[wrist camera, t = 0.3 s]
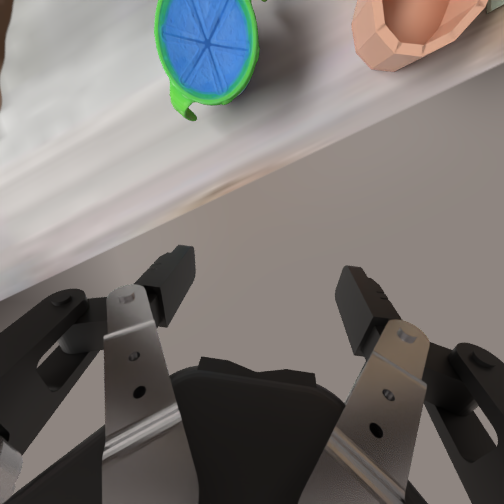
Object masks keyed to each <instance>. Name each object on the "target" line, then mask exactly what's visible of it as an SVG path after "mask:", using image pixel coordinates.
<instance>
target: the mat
mask: <svg viewBox="0 0 504 504" xmlns="http://www.w3.org/2000/svg"><path fill="white" fill-rule="evenodd" d="M502 5H504V0H488V2H487V13H489V12H491V11H492V10H494V9H496V8H498V7H500V6H502Z"/></svg>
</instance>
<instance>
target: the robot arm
mask: <svg viewBox="0 0 504 504" xmlns="http://www.w3.org/2000/svg"><path fill="white" fill-rule="evenodd" d="M194 278H195V254H194V248H193V247H192V246H185V245H178V246H177V247H176V248H175V249H174V250H173V252H172V253H166V254H164V255H162V256H160V257H159V258H158V259H157V260H156V261H155V262H154V264H152V265H151V266H150V268H149V269H148V270H147V271H146V272H145V273H144V274H143V275H142V276H141V277H140V278H139V279H138V280H137V281H136V282H135V283H134V284H131V285H125V286H122V287H119V288H117V289H115V290H114V291H112V292H111V293H110V294H109V295H108V297H101V298H91V299H87V297H86V295H85V293H84V291H82V290H80V289H67V290H62V291H59V292H56V293H54V294H52V295H50V296H48V297H47V298H45V299H44V300H42V301H41V302H40V303H39V304H37V305H36V306H35V307H33V308H32V309H31V310H30V311H28V312H27V313H26V314H24V315H23V316H22V317H20V318H19V319H18V320H17V321H15V322H14V323H13V324H11V325H10V326H9V327H7V328H6V329H5V330H4V331H2V332H1V333H0V504H428V503H427V502H426V501H425V500H424V498H423V497H422V496H421V495H420V494H419V492H418V491H417V490H416V489H415V487H414V486H413V485H412V484H411V483H410V481H409V480H408V476H409V471H410V466H411V461H412V456H413V452H414V447H415V442H416V437H417V432H418V428H419V423H420V418H421V412H422V408H423V403H424V405H425V407H426V409H427V411H428V413H429V415H430V417H431V419H432V421H433V423H434V426H435V428H436V430H437V432H438V434H439V436H440V438H441V440H442V442H443V444H444V446H445V448H446V450H447V453H448V455H449V457H450V459H451V461H452V463H453V465H454V467H455V469H456V471H457V473H458V475H459V478H460V480H461V482H462V484H463V486H464V488H465V490H466V492H467V494H468V496H469V498H470V500H471V503H472V504H504V363H503V362H502V361H501V360H499V359H498V358H497V357H496V356H494V355H493V354H491V353H490V352H488V351H487V350H485V349H482V348H481V347H478V346H476V345H473V344H470V343H459V344H457V346H456V347H455V348H454V349H453V350H450V349H448V348H445V347H442V346H439V345H436V344H434V343H431V342H429V340H428V338H427V336H426V335H425V334H424V333H423V332H422V331H421V330H420V329H419V328H417V327H416V326H414V325H413V324H411V323H408V322H406V321H403V320H402V319H401V317H400V316H399V314H398V313H397V311H396V310H395V308H394V307H393V305H392V304H391V302H390V301H389V300H388V298H387V296H386V295H385V294H384V292H383V290H382V289H381V287H380V285H379V284H377V283H376V282H375V281H374V280H373V279H371V278H368V277H367V276H366V274H365V272H364V271H363V269H362V268H361V267H355V266H345V267H344V268H343V270H342V273H341V276H340V279H339V282H338V285H337V287H336V291H335V300H336V303H337V306H338V309H339V312H340V315H341V318H342V321H343V324H344V327H345V330H346V333H347V336H348V339H349V342H350V345H351V348H352V350H353V353H354V355H356V356H363V357H365V359H366V362H365V364H364V366H363V368H362V370H361V372H360V374H359V376H358V377H357V379H356V381H355V384H354V385H353V387H352V389H351V391H350V393H349V395H348V397H347V399H346V401H345V402H344V403H343V402H342V401H341V400H340V399H339V398H338V397H337V396H336V395H334V394H333V393H332V392H330V391H329V390H327V389H326V388H324V387H322V386H320V385H318V384H316V379H315V374H314V373H308V372H301V371H294V370H288V369H284V370H275V371H265V372H254V371H252V370H250V369H247V368H245V367H243V366H240V365H238V364H235V363H233V362H231V361H228V360H221V359H215V358H208V357H201V359H200V362H199V365H198V366H193V367H188V368H185V369H182V370H180V371H177V372H176V373H173V374H172V375H170V376H169V373H168V369H167V365H166V362H165V358H164V354H163V350H162V347H161V343H160V340H159V336H158V332H157V328H158V326H160V327H168V325H169V323H170V322H171V320H172V318H173V316H174V315H175V313H176V311H177V309H178V308H179V306H180V304H181V302H182V301H183V299H184V297H185V295H186V293H187V292H188V290H189V288H190V286H191V285H192V283H193V281H194ZM56 341H57V342H58V343H59V346H58V347H57V348H56V349H55V350H54V351H53V352H52V353H51V354H50V355H49V356H48V358H47V359H46V360H45V361H44V362H43V363H42V364H41V365H40V366H39V367H38V368H37V364H38V362H39V360H40V359H41V357H42V356H43V355H44V354H45V353H46V352H47V351H48V350H49V349H50V348H51V346H52V345H54V343H55V342H56ZM100 350H104V388H105V389H104V390H105V425H104V426H102V427H101V428H100V429H98V430H97V431H96V432H94V433H93V434H92V435H90V436H89V437H88V438H87V439H85V440H84V441H83V442H81V443H80V444H79V445H77V446H76V447H75V448H74V449H72V450H71V451H70V452H68V453H67V454H66V455H64V456H63V457H62V458H60V459H59V460H58V461H57V462H55V463H54V464H53V465H51V466H50V467H49V468H47V469H46V470H45V471H43V472H42V473H41V474H39V475H38V476H37V477H36V478H34V479H33V480H32V481H30V482H29V483H28V484H26V485H25V486H24V487H22V488H21V489H20V490H18V491H17V492H16V493H15V494H13V492H14V490H15V482H16V480H17V478H18V476H19V474H20V471H21V468H22V463H23V460H22V455H23V454H24V452H25V451H26V450H27V448H28V447H29V445H30V444H31V443H32V441H33V440H34V439H35V437H36V436H37V435H38V433H39V432H40V431H41V429H42V428H43V427H44V425H45V424H46V422H47V421H48V420H49V418H50V417H51V416H52V414H53V413H54V412H55V410H56V409H57V408H58V406H59V405H60V404H61V402H62V401H63V400H64V398H65V397H66V396H67V394H68V393H69V392H70V390H71V388H72V387H73V386H74V385H75V383H76V382H77V380H78V379H79V378H80V377H81V375H82V374H83V373H84V371H85V370H86V369H87V367H88V366H89V364H90V363H91V362H92V360H93V359H94V358H95V356H96V355H97V353H98V352H99V351H100ZM478 406H479V407H480V408H481V410H482V411H483V412H484V414H485V415H486V417H487V418H488V420H489V421H490V423H491V424H492V426H493V427H494V429H495V431H496V433H497V436H498V445H497V447H496V445H495V444H494V442H493V440H492V439H491V437H490V436H489V434H488V433H487V431H486V430H485V428H484V427H483V425H482V423H481V422H480V420H479V419H478V417H477V416H476V414H475V413H474V411H473V410H474V409H476V408H477V407H478ZM12 494H13V495H12Z"/></svg>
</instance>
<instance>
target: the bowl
mask: <svg viewBox="0 0 504 504" xmlns="http://www.w3.org/2000/svg"><path fill="white" fill-rule="evenodd" d="M487 2H488V0H357V4H356V8H355V12H354V16H353V20H352V24H351V25H352V31H353V37H354V43H355V49H356V53H357V54H358V55H359V56H360V58H361V59H362V60H363V61H364V62H365V63H366V64H367V65H368V66H369V67H370V68H371V69H372V70H381V71H390V72H395V71H397V70H399V69H401V68H403V67H405V66H407V65H409V64H411V63H413V62H415V61H417V60H419V59H421V58H423V57H425V56H427V55H429V54H430V53H432V52H434V51H436V50H438V49H440V48H442V47H444V46H446V45H448V44H449V43H451V42H453V41H455V40H456V39H457V38H458V36H459V35H460V34H461V33H462V32H463V31H464V30H465V29H466V28H467V27H468V25H469V24H470V23H471V22H472V21H473V20H474V19H475V18H476V17H477V16H478V14H479V13H480V12H481V11H482V10H483V9H484V8H485V6H486V4H487Z"/></svg>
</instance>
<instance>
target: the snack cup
mask: <svg viewBox="0 0 504 504" xmlns="http://www.w3.org/2000/svg"><path fill="white" fill-rule="evenodd" d="M262 1H263V2H266V1H267V0H262ZM154 34H155V41H156V47H157V51H158V55H159V58H160V61H161V63H162V66H163V68H164V70H165V72H166V74H167V76H168V77H169V79H170V97H171V103H172V105H173V107H174V108H175V109H176V110H177V111H178V112H179V113H180V114H181V115H182V116H183V117H185V118H186V119H188V120H190V121H196V120H197V117H196V115H195V114H194V113H193V112H192V111H191V110H190V109H189V108H188V107H189V106H190V105H191V104H192V103H193V102H198V103H201V104H204V105H220V104H222V105H226V104H228V103H230V102H232V100H233V99H234V98H235V97H237V96H239V95H240V94H241V93H242V92H243V91H244V90H245V89H246V87H247V85H248V84H249V82H250V80H251V77H252V75H253V72H254V69H255V65H256V63H257V61H258V58H259V51H260V47H259V42H258V28H257V22H256V17H255V13H254V10H253V7H252V4H251V0H158V3H157V8H156V14H155V27H154Z"/></svg>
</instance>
